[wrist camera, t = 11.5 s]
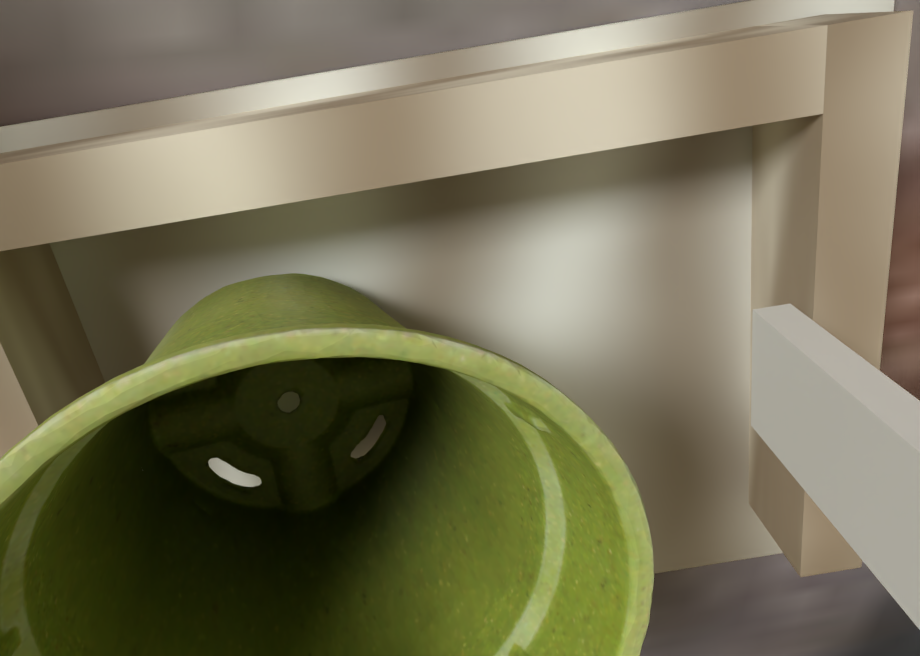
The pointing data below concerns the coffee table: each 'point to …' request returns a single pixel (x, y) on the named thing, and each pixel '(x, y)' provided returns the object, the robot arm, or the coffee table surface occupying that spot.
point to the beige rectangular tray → (506, 230)
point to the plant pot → (320, 499)
